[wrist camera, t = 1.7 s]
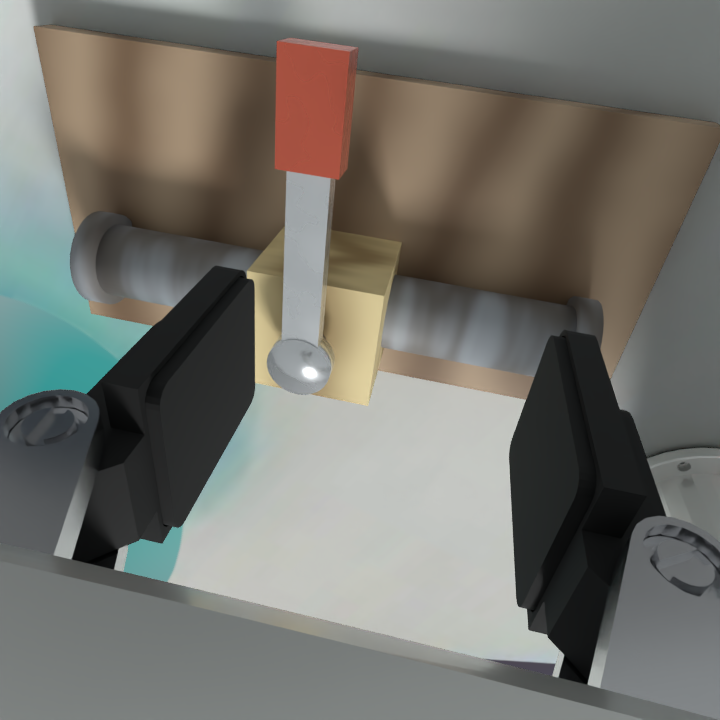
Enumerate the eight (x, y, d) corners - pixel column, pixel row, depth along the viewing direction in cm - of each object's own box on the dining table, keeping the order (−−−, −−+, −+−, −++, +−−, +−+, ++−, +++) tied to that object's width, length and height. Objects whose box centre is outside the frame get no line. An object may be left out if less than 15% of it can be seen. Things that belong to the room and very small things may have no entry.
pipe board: (715, 122, 28) (804, 174, 20) (591, 399, 38) (618, 504, 30) (51, 24, 31) (-94, 37, 23) (102, 303, 41) (14, 376, 34)
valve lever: (333, 384, 29) (325, 402, 28) (274, 372, 29) (265, 390, 28) (366, 48, 20) (358, 52, 19) (282, 36, 21) (268, 39, 19)
